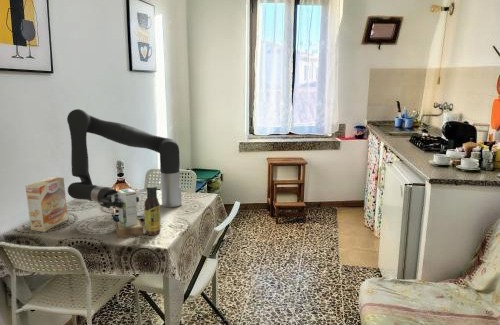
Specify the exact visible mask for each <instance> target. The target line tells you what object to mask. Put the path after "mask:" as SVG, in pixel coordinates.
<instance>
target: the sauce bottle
mask: <svg viewBox="0 0 500 325" xmlns="http://www.w3.org/2000/svg"><path fill="white" fill-rule="evenodd" d="M157 190H158V186H157V185H156V184H155V185H154V184H152V185H147V186H146V199H145V201H144V205H143V206H144V230H145V231H144V232H145V234H146V235H147V236H153V235H154V236H155V235H158V234H159V233H160V232H161V228H162V226H161V224H162V223H161V205H160V203H159V198H158V194H157V192H158V191H157Z"/></svg>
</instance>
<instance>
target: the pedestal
mask: <svg viewBox="0 0 500 325" xmlns="http://www.w3.org/2000/svg"><path fill="white" fill-rule="evenodd" d="M137 222H138V224H136V225H133V226H129V227H124V226H122V225H121V224H120V221H116V222H115V230H116V235H117V238H118V239H120V238H126V237H132V236H133V237H134V236H140V235H141V236H142V235H144V226H143V224H142V220H141V219H140V218H137Z"/></svg>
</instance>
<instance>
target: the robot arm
mask: <svg viewBox="0 0 500 325" xmlns="http://www.w3.org/2000/svg"><path fill="white" fill-rule="evenodd" d="M66 122H67V124H68V129H69V132H70V140H71V142H70V147H71V158H70V159H71V175H72V176H73V177H75V178H76V177H77V178H79V179H80V181H77V182H72V183H70V184H69V186H68V187H67V193H68V195H69V197H71V198H72V199H75V200H86V201H90V202H94V203H96V204H99V206H100V207H104V208H106V209H110V208H111V207H112V208H118V209H119V208H122V203H121V202H118V190H116V189H114V188H110V187H106V186H100V185H96V184H93V182H92V178H91V175H90V171H89V168H90V167H89V154H88V153H89V152H88V147H87V146H88V144H87V135H88V134H93V135H97V136H100V137H103V138H105V139H107V140H110V141H112V142H114V143H118V144H120V145H124V146H128V147H132V148H137V149H138V148H140V149H146V150H150V151H153V152H156V153H158V154H159V165H160V166H159V168H160V188H161V191H160V192H161V206H162V207H163V208H176V207H179V206H182V205H183V204H182V203H183V202H182V186H181V178H180V176H181V175H180V174H181V173H180V168H181V167H180V166H181V165H180V164H181V163H180V162H181V160H180V148H179V144H178V143H177V141H176V140H174V139H172V138H168V137H162V136H159V135H155V134H152V133H149V132H146V131H144V130H142V129H139V128H136V127H133V126H130V125H128V124H127V125H126V124H123V123H120V122H116V121H115V122H114V121H107V120H103V119H100V118H98V117H94V116H93V115H90V114H88V113H87V111H85V110H82V109H79V108H76V109H73V110H71V111H70V112H68V115H67V118H66ZM87 133H88V134H87ZM136 202H137V203H139V202H140V197H139V196H137V195H136Z"/></svg>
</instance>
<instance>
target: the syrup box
mask: <svg viewBox="0 0 500 325" xmlns="http://www.w3.org/2000/svg"><path fill="white" fill-rule="evenodd" d="M117 192H118V202H121V203H122V208H118V218H119V221H118V222H120V224H121V225H122V226H124V227H129V226H133V225H136V224H138V222H137V219H138V207H137V206H138V204H137V203H138V202H136V196H137V191H135V190H134V189H132V188H123V189H119V190H117Z"/></svg>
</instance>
